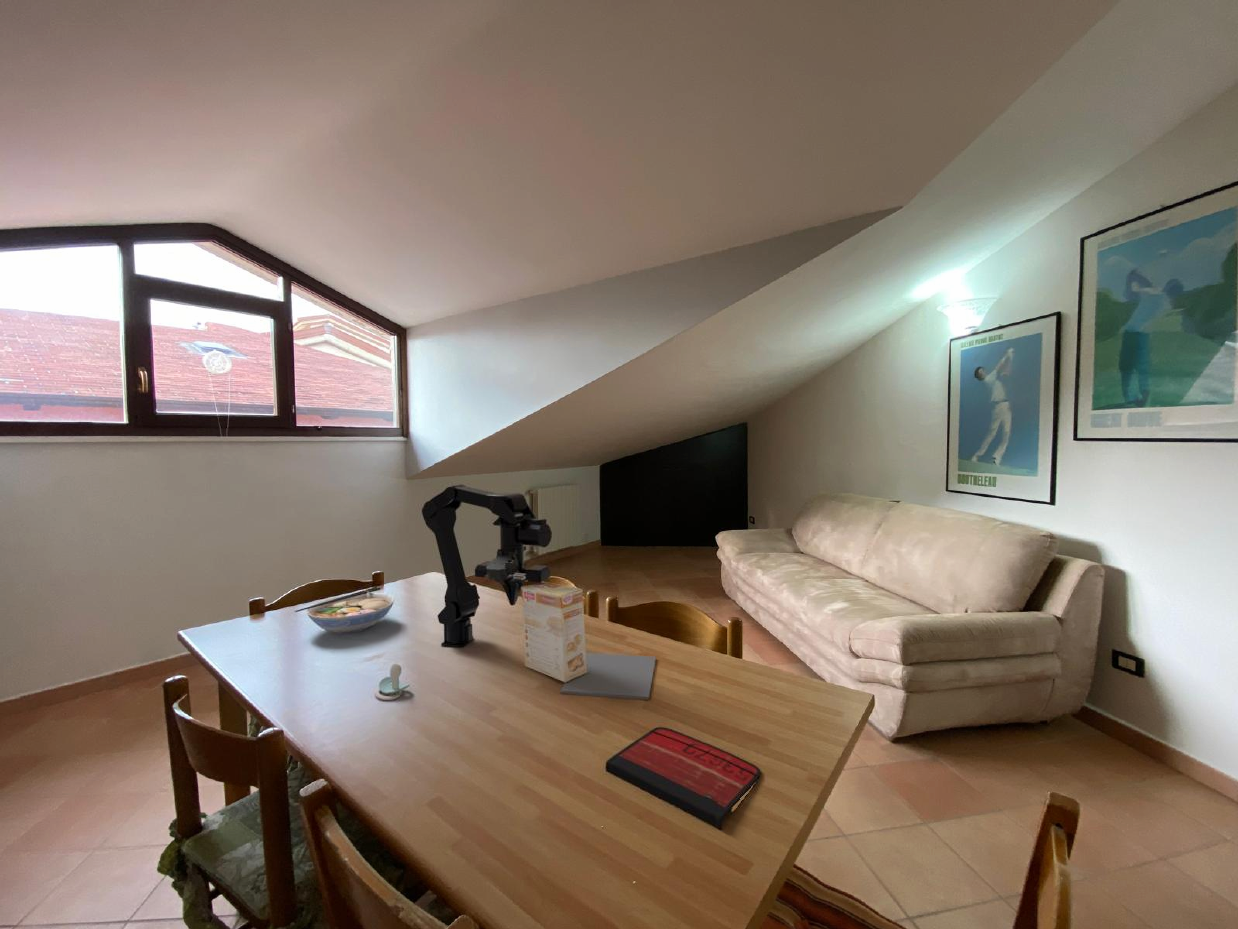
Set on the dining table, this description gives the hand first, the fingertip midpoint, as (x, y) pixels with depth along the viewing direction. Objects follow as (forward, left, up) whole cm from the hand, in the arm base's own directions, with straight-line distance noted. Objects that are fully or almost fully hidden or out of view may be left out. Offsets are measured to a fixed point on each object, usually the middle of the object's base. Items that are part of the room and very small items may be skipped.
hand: (512, 605), depth 127 cm
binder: (+44, -39, -14) cm, 60 cm away
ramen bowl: (-53, +11, -13) cm, 56 cm away
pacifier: (-19, -22, -13) cm, 32 cm away
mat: (+26, -7, -13) cm, 30 cm away
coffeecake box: (+13, -7, -13) cm, 20 cm away
